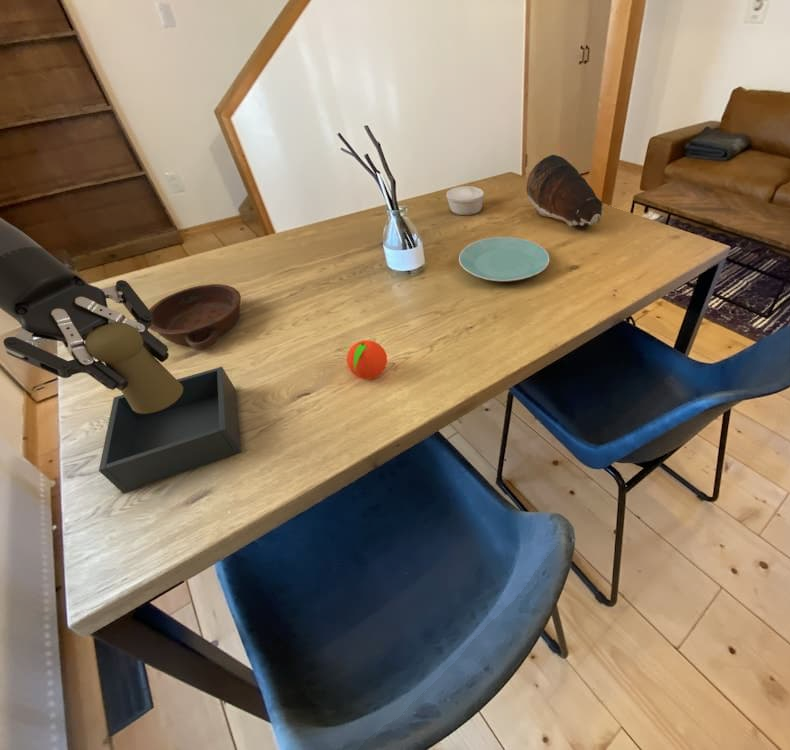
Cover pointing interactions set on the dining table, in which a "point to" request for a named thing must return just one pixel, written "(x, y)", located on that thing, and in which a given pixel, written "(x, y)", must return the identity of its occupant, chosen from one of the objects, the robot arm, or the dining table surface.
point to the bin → (172, 433)
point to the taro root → (562, 192)
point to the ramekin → (465, 200)
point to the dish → (197, 315)
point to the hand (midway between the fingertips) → (145, 371)
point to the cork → (134, 367)
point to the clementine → (366, 359)
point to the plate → (504, 259)
